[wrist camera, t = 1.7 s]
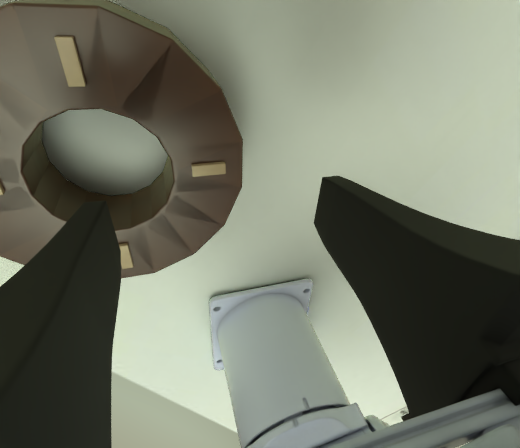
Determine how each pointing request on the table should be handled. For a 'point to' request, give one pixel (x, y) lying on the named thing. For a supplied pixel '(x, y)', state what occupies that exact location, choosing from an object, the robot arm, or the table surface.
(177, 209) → the clock ring
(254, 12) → the table surface
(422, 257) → the robot arm
